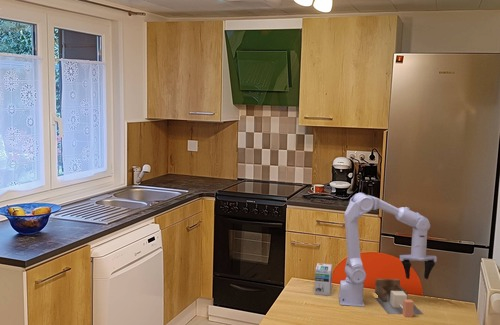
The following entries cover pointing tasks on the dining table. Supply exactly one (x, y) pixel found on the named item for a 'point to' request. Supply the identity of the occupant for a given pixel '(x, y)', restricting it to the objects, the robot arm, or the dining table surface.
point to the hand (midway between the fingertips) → (416, 278)
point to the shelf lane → (384, 291)
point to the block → (402, 303)
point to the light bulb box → (323, 279)
